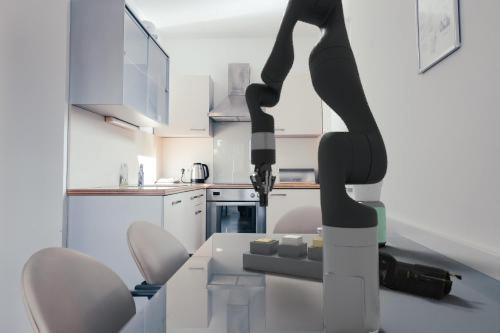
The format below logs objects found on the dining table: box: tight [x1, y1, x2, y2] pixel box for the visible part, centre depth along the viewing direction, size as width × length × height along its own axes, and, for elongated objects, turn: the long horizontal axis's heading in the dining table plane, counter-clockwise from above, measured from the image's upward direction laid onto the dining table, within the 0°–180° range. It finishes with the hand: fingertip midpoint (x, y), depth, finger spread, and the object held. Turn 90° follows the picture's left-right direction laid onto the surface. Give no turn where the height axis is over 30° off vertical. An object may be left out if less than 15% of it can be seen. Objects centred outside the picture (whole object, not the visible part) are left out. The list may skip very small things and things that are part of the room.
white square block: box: [281, 234, 304, 246], centre depth 97 cm, size 4×4×3 cm
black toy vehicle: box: [378, 250, 463, 301], centre depth 79 cm, size 7×25×8 cm, turn 43°
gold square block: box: [254, 238, 275, 243], centre depth 101 cm, size 4×4×3 cm
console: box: [242, 239, 323, 280], centre depth 97 cm, size 12×26×7 cm, turn 60°
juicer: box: [352, 179, 388, 247], centre depth 131 cm, size 19×13×35 cm
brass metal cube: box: [312, 236, 322, 248], centre depth 92 cm, size 4×4×3 cm
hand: (263, 206), depth 102 cm, fingers closed
